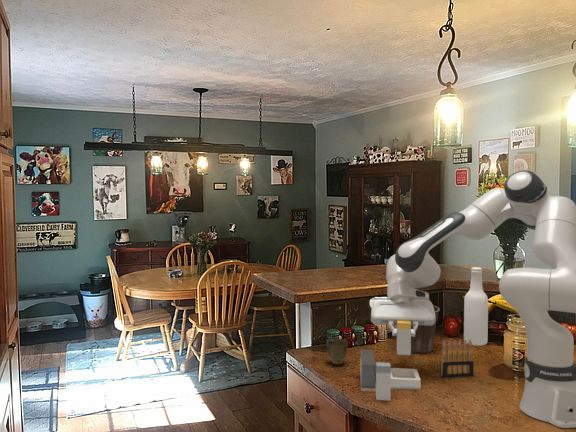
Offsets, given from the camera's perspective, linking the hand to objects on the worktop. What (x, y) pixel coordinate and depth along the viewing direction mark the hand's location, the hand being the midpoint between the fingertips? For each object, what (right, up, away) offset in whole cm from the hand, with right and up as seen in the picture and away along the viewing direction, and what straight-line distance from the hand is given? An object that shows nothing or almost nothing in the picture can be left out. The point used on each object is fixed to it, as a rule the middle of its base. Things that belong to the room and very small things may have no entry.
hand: (403, 335), depth 152 cm
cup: (-19, -15, +18) cm, 30 cm away
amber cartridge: (0, -6, +1) cm, 6 cm away
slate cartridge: (-8, -16, -10) cm, 21 cm away
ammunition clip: (+19, -15, +7) cm, 25 cm away
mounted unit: (-11, -15, +2) cm, 19 cm away
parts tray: (0, -15, +1) cm, 15 cm away
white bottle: (+38, -13, +42) cm, 58 cm away
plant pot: (+13, -14, +35) cm, 40 cm away
